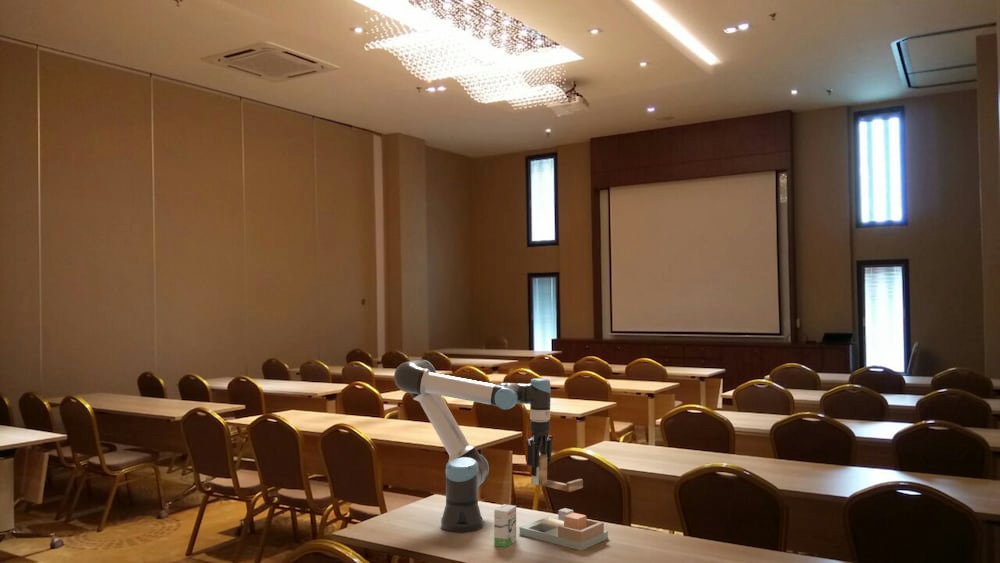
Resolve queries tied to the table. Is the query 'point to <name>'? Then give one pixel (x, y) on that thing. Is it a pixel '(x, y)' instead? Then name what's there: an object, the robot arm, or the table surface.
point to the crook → (552, 484)
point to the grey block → (563, 513)
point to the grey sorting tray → (566, 533)
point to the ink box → (504, 525)
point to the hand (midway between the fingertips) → (539, 483)
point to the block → (575, 521)
